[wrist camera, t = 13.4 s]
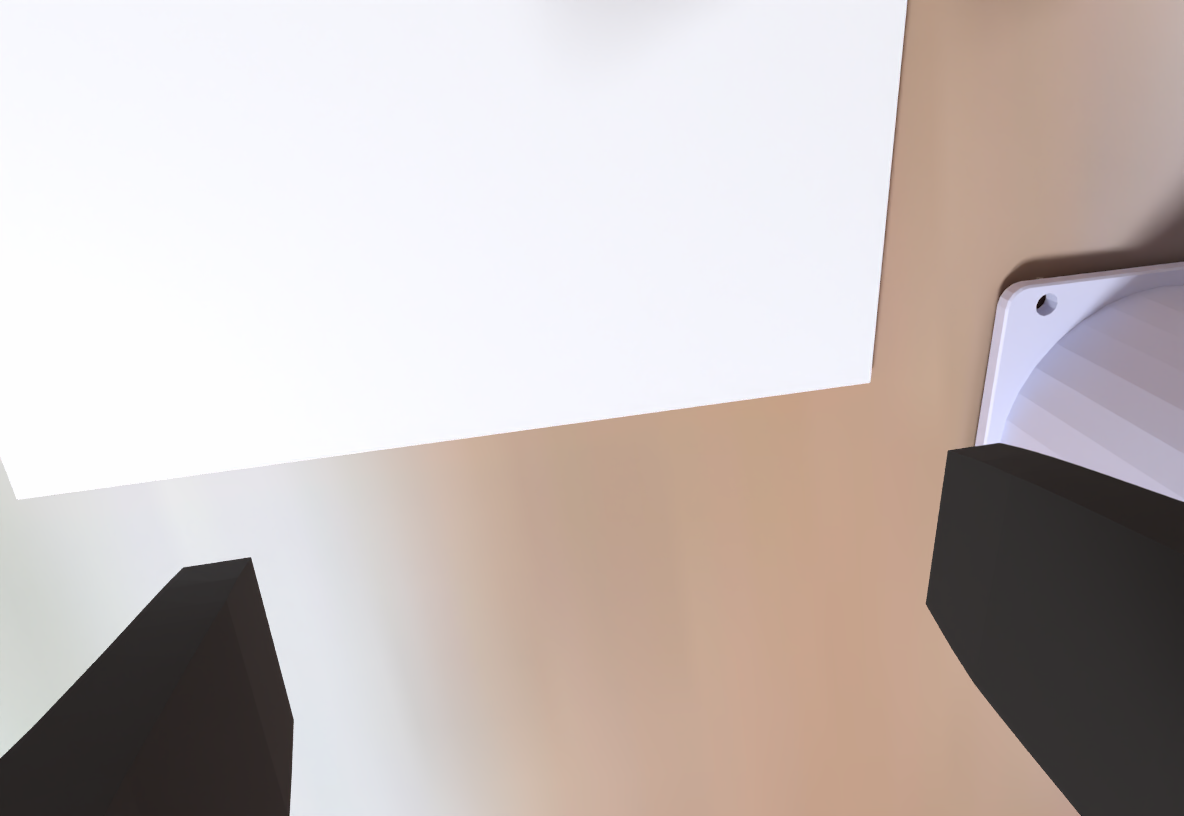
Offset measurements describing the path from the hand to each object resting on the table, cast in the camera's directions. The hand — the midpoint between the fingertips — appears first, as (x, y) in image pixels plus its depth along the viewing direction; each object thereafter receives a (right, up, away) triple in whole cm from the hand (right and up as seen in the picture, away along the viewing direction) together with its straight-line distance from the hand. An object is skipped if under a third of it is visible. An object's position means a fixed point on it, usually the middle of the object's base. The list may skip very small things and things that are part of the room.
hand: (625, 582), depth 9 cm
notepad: (-3, +7, +7) cm, 10 cm away
